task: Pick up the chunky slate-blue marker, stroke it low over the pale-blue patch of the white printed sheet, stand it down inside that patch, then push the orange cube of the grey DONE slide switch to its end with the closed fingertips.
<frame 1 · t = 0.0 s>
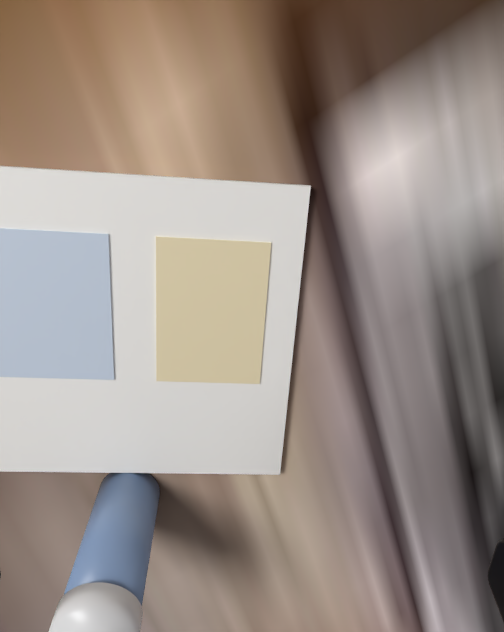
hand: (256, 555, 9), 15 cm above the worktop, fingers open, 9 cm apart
marker: (130, 491, 26), on the worktop
sheet: (125, 337, 23), on the worktop
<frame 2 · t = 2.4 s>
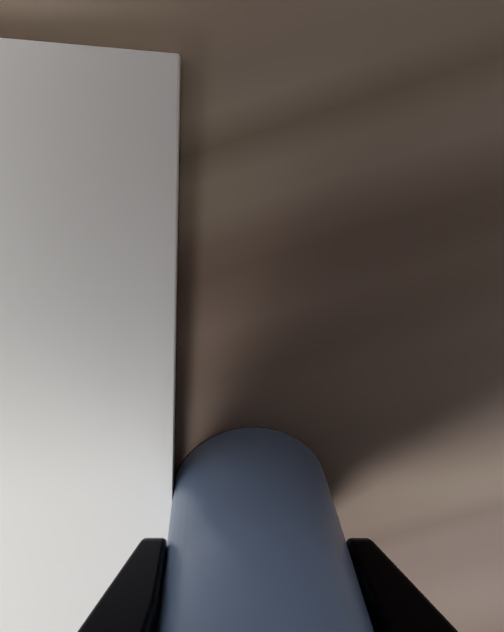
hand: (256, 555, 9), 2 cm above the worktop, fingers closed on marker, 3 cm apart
marker: (250, 492, 10), on the worktop, touching gripper, sheet
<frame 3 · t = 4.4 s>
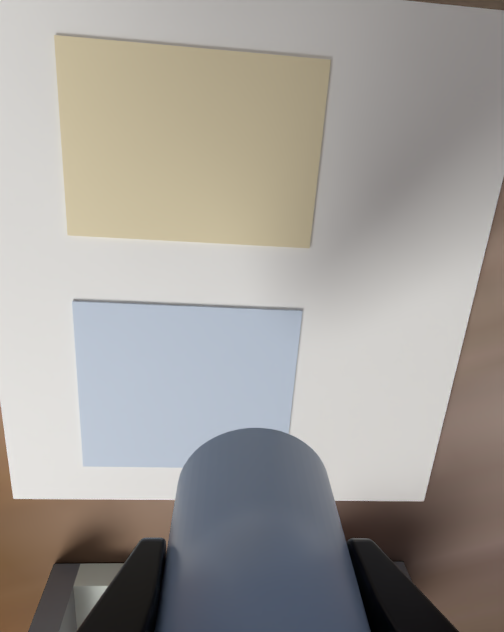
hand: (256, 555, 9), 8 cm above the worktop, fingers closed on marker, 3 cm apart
switch base: (242, 607, 20), on the worktop
marker: (253, 492, 10), point 6 cm above the worktop, touching gripper
sheet: (238, 288, 15), on the worktop
when the fingers open (2 cm above the worktop, at t = 6.5 s): marker stays where it is, resting on sheet.
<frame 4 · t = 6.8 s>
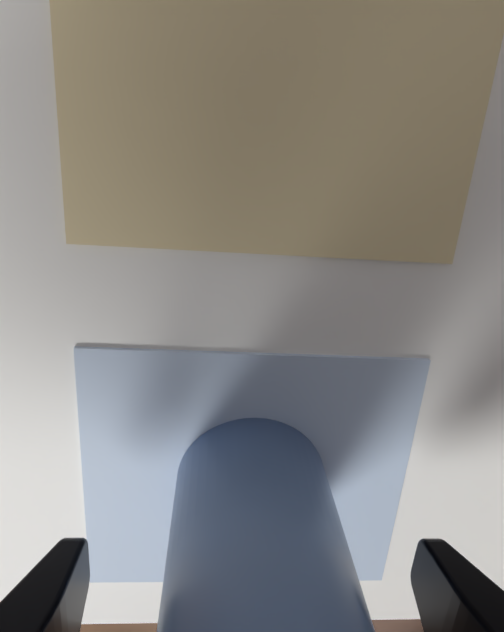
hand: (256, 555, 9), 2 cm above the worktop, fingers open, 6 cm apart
marker: (250, 481, 10), point 1 cm above the worktop, touching sheet
sheet: (330, 324, 10), on the worktop
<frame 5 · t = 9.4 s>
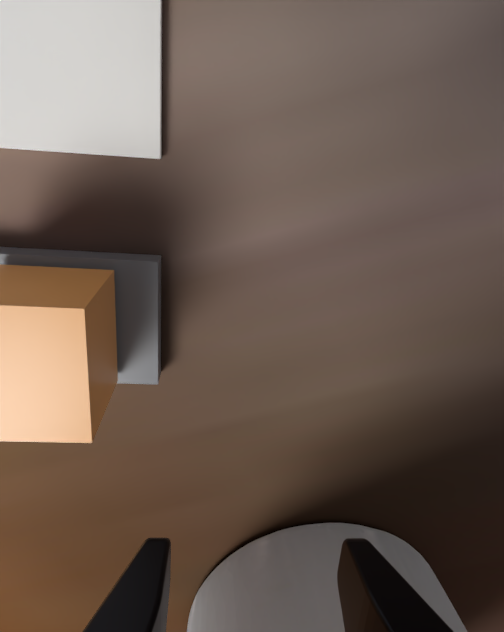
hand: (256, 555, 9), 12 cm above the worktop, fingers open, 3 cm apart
utensil holder: (318, 613, 26), on the worktop
orange cube: (41, 348, 16), point 3 cm above the worktop, slide at 0.0 cm
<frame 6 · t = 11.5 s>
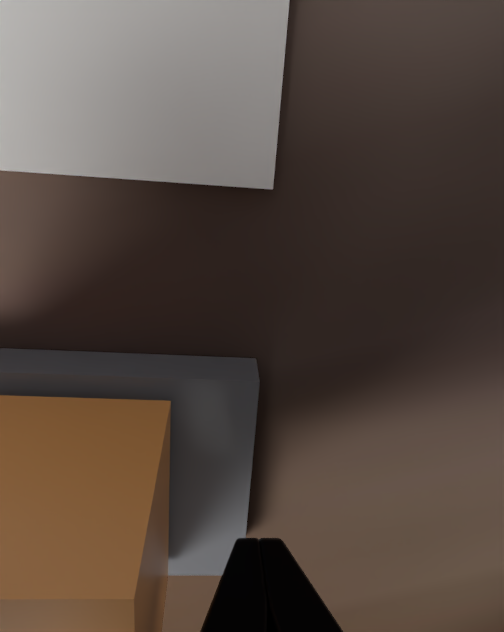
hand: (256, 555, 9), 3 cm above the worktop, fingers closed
orange cube: (28, 584, 8), point 3 cm above the worktop, slide at 0.2 cm, touching gripper
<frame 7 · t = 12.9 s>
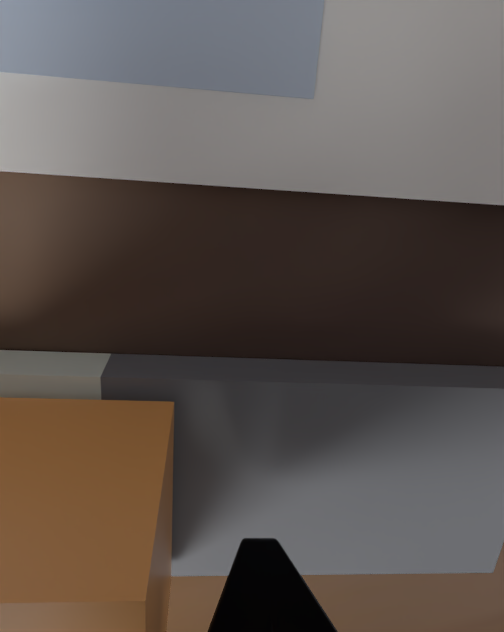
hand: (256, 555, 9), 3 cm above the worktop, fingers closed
switch base: (226, 456, 11), on the worktop
orange cube: (33, 587, 7), point 3 cm above the worktop, slide at 6.1 cm, touching gripper
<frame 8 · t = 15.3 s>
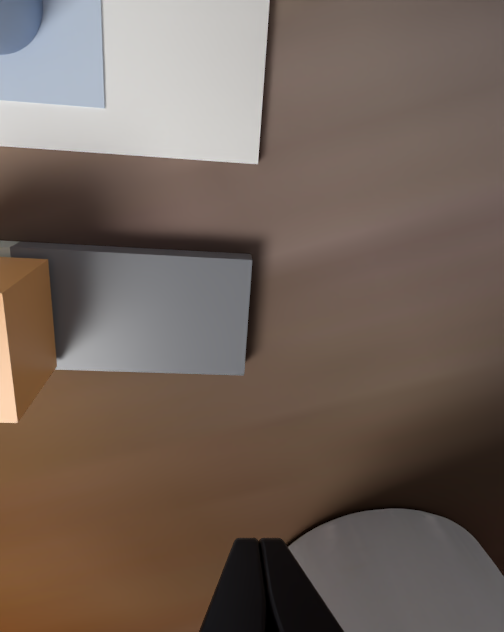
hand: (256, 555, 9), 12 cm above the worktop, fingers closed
switch base: (89, 304, 20), on the worktop
utensil holder: (375, 596, 27), on the worktop
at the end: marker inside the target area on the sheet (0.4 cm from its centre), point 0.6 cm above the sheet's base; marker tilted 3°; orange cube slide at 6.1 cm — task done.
